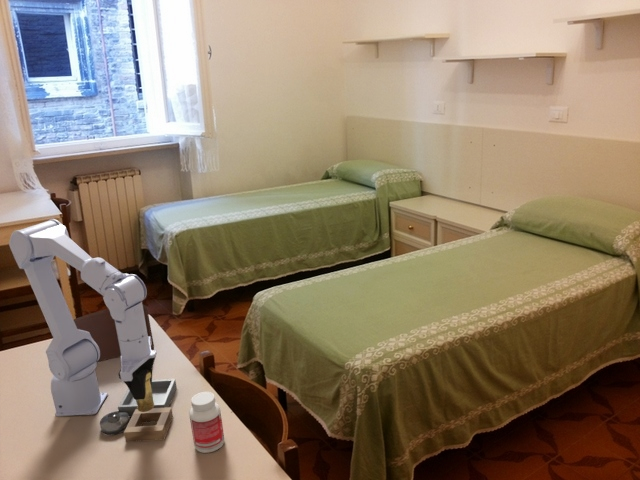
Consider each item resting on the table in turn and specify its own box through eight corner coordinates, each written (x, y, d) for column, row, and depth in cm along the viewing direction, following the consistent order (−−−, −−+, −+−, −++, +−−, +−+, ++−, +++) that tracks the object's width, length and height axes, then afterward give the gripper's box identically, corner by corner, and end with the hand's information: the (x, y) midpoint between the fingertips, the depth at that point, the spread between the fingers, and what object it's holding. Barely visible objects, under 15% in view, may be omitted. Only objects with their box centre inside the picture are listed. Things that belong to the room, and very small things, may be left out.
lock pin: (133, 413, 119) (126, 381, 116) (139, 401, 123) (133, 370, 120) (153, 412, 119) (147, 380, 116) (158, 400, 123) (152, 369, 120)
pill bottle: (229, 445, 116) (223, 399, 112) (201, 458, 113) (194, 411, 109) (217, 430, 121) (210, 385, 117) (189, 442, 118) (182, 396, 114)
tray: (119, 417, 127) (117, 407, 126) (133, 390, 137) (132, 381, 136) (165, 414, 127) (164, 404, 126) (176, 388, 137) (175, 378, 136)
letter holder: (154, 349, 156) (146, 302, 152) (77, 367, 149) (67, 319, 145) (149, 333, 165) (142, 289, 161) (76, 350, 158) (66, 304, 154)
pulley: (97, 435, 121) (94, 424, 121) (106, 418, 127) (104, 407, 126) (124, 434, 121) (122, 423, 120) (133, 417, 127) (131, 406, 126)
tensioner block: (125, 441, 119) (123, 432, 118) (137, 418, 127) (135, 409, 126) (163, 439, 119) (162, 430, 118) (172, 416, 126) (171, 407, 126)
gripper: (141, 351, 108) (152, 411, 113) (161, 317, 122) (170, 372, 126) (105, 353, 108) (117, 413, 113) (128, 319, 122) (139, 373, 127)
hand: (143, 392), depth 120 cm, fingers closed on lock pin, 4 cm apart
